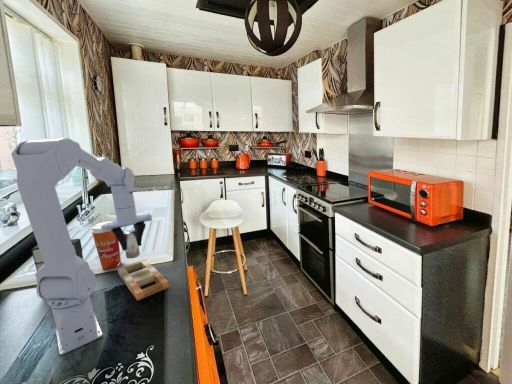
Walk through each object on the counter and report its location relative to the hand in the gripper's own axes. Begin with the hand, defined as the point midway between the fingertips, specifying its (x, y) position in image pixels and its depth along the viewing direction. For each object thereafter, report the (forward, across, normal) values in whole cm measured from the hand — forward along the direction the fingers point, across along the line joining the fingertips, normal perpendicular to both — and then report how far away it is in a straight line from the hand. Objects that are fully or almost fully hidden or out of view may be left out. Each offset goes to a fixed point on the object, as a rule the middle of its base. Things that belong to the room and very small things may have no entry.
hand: (131, 247), depth 86 cm
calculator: (+10, +18, -5) cm, 21 cm away
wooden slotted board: (+9, 0, +6) cm, 11 cm away
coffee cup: (+10, +4, -13) cm, 17 cm away
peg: (+3, 0, 0) cm, 3 cm away
